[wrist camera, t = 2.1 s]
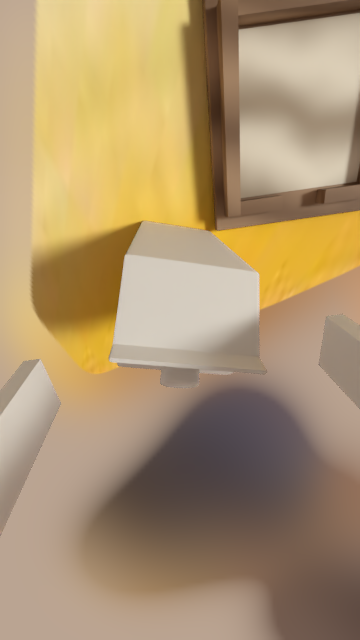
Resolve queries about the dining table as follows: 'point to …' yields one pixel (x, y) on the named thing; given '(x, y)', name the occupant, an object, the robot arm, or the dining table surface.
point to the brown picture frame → (283, 108)
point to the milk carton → (186, 307)
